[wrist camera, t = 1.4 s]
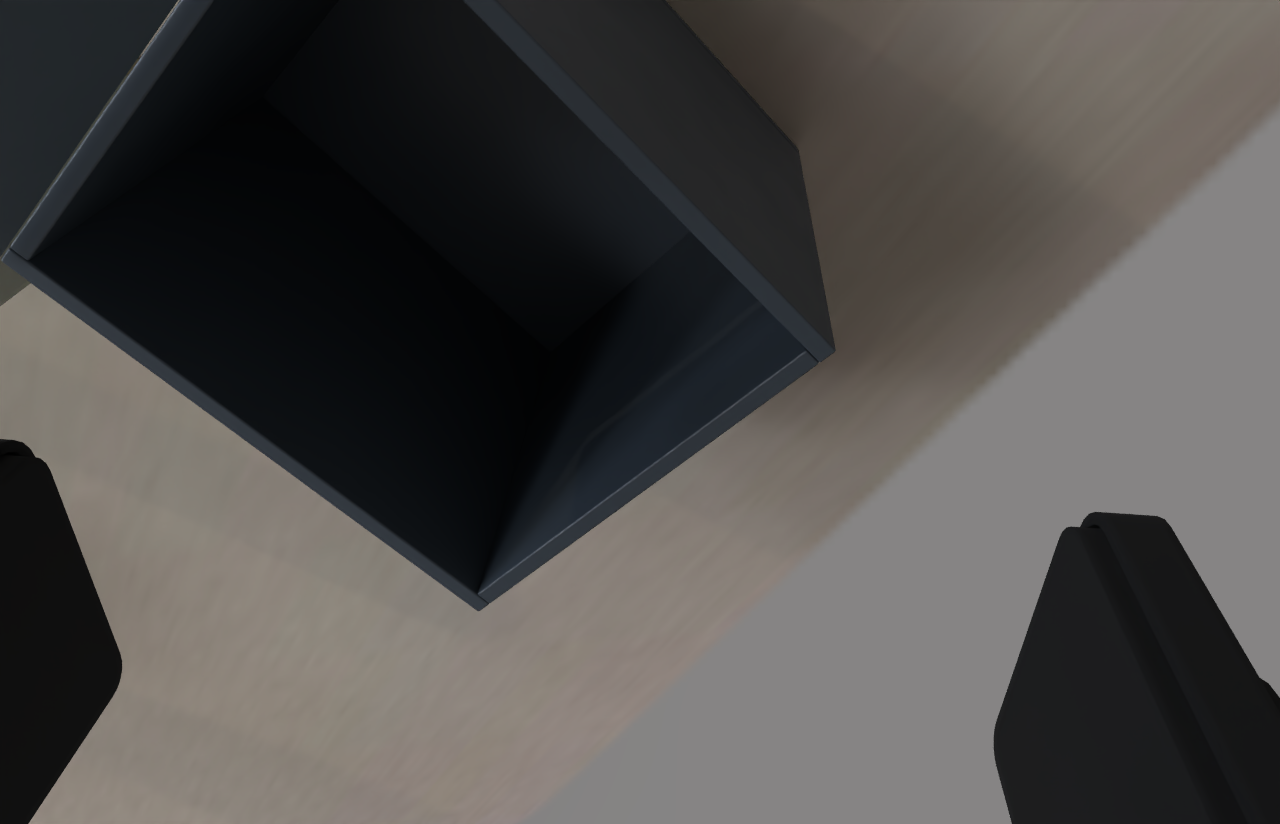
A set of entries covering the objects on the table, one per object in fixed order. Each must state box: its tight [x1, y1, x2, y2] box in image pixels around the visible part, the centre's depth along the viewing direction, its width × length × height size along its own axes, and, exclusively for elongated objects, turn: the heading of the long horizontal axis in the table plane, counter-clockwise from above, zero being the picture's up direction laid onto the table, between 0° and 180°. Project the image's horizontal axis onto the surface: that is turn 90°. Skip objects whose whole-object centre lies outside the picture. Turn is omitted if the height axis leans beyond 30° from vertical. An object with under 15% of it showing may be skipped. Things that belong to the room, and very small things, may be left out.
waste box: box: [1, 0, 835, 611], centre depth 29 cm, size 15×13×14 cm
